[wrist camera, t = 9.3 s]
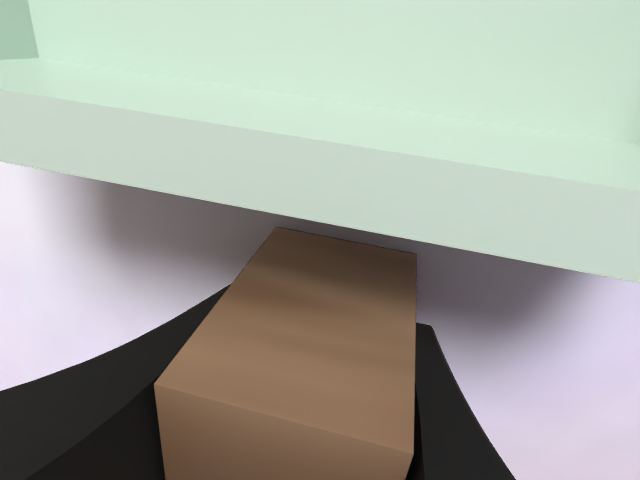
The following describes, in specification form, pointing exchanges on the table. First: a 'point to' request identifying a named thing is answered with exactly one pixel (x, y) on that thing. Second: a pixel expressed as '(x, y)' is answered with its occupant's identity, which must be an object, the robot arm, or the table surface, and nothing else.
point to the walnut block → (298, 369)
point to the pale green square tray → (349, 113)
